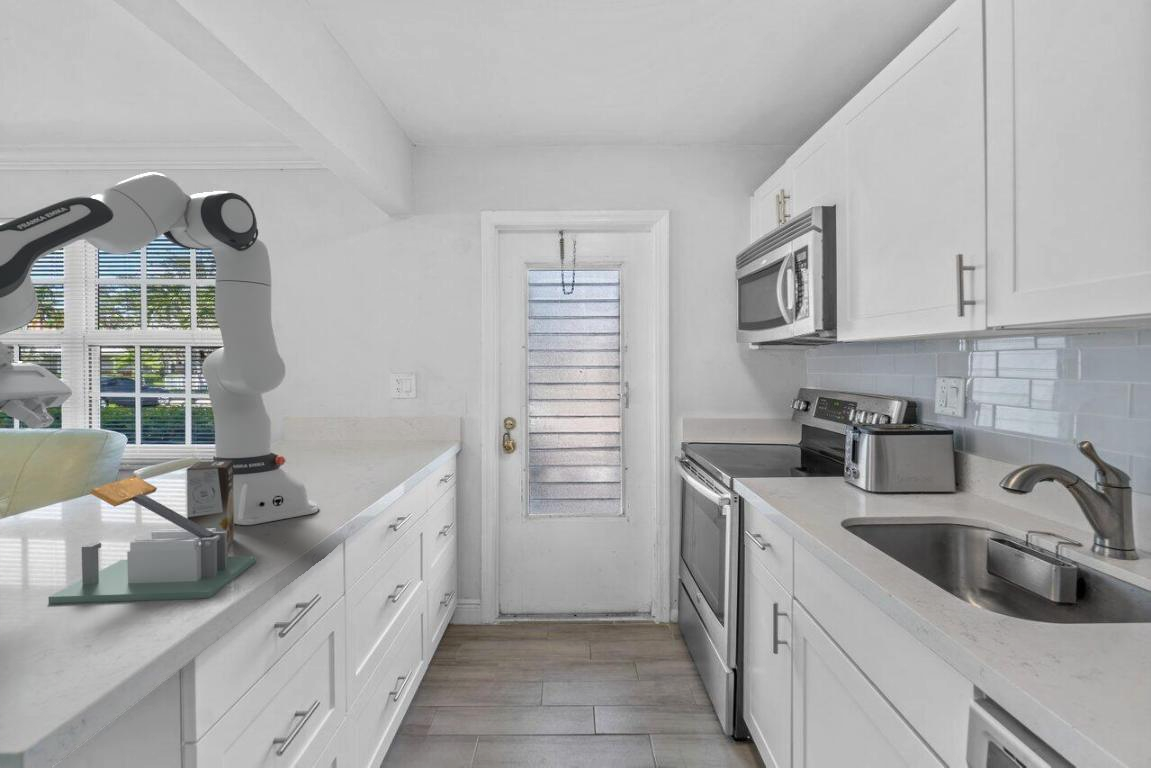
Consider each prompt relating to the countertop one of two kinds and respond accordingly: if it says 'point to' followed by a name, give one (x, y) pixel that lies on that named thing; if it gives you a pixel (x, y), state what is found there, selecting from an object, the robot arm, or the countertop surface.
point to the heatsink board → (148, 590)
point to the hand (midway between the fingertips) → (44, 424)
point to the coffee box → (212, 496)
